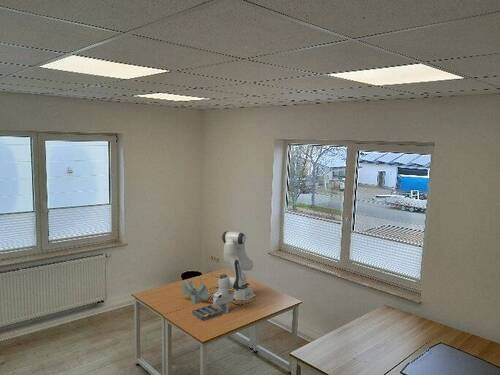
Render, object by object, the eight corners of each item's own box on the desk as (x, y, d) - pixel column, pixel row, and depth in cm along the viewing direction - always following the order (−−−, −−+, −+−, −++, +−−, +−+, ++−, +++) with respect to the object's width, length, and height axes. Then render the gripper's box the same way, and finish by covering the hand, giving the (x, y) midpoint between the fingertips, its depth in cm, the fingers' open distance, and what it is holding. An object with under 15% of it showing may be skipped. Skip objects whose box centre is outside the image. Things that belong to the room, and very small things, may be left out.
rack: (210, 308, 350) (210, 304, 349) (221, 314, 337) (221, 310, 336) (192, 314, 338) (192, 309, 338) (202, 321, 325) (202, 316, 324)
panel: (220, 308, 350) (220, 300, 349) (228, 312, 341) (228, 305, 340) (218, 309, 349) (218, 301, 348) (226, 313, 339) (226, 306, 339)
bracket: (209, 303, 361) (209, 282, 359) (206, 305, 355) (205, 285, 352) (184, 298, 372) (184, 278, 369) (180, 301, 365) (180, 280, 363)
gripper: (230, 289, 352) (230, 303, 353) (211, 294, 339) (212, 309, 341) (234, 291, 347) (234, 306, 349) (215, 297, 334) (216, 312, 336)
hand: (223, 308), depth 344 cm, fingers open, 3 cm apart
